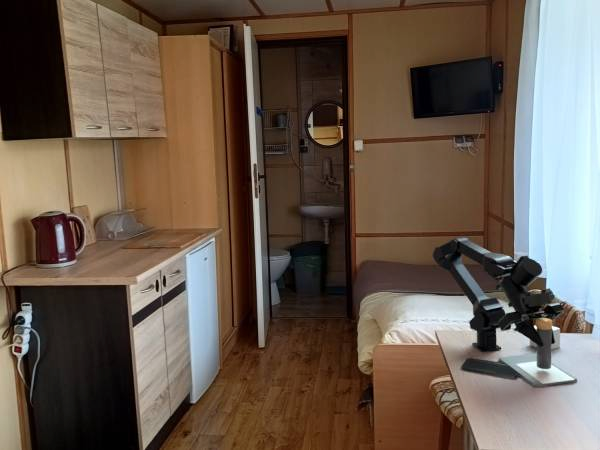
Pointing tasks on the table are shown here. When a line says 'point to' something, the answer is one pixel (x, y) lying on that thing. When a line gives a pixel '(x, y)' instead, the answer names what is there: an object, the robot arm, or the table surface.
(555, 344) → the white cube
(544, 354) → the grey cylinder
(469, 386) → the table surface
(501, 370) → the phone
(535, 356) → the writing board
